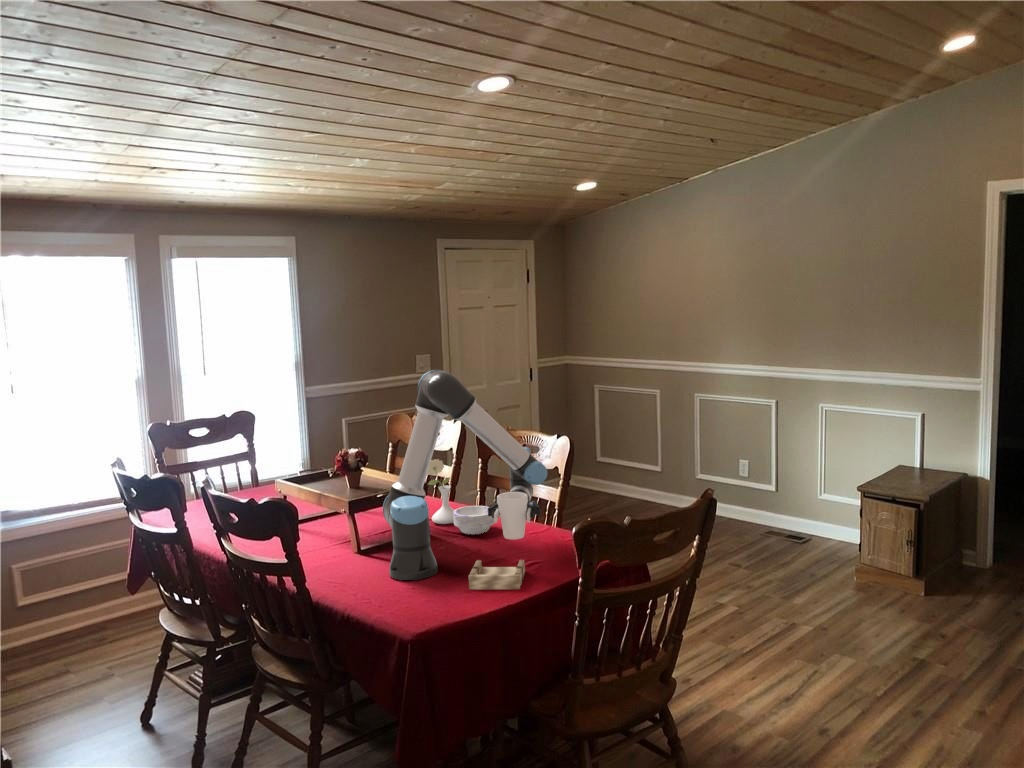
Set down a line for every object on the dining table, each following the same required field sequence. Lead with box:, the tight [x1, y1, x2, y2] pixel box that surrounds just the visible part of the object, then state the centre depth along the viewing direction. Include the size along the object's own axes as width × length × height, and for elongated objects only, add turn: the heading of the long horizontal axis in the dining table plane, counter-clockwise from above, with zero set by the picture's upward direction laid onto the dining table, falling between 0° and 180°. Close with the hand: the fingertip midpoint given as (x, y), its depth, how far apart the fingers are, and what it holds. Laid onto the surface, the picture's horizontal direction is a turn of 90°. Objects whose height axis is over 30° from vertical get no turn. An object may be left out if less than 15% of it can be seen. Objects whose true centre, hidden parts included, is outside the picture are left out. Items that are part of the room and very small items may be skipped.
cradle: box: [467, 559, 526, 590], centre depth 242 cm, size 16×15×4 cm
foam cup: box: [496, 491, 528, 541], centre depth 248 cm, size 10×9×13 cm
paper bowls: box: [453, 505, 495, 536], centre depth 294 cm, size 15×15×8 cm
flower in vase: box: [427, 458, 455, 525], centre depth 307 cm, size 13×11×25 cm
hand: (511, 518), depth 244 cm, fingers closed on foam cup, 9 cm apart
